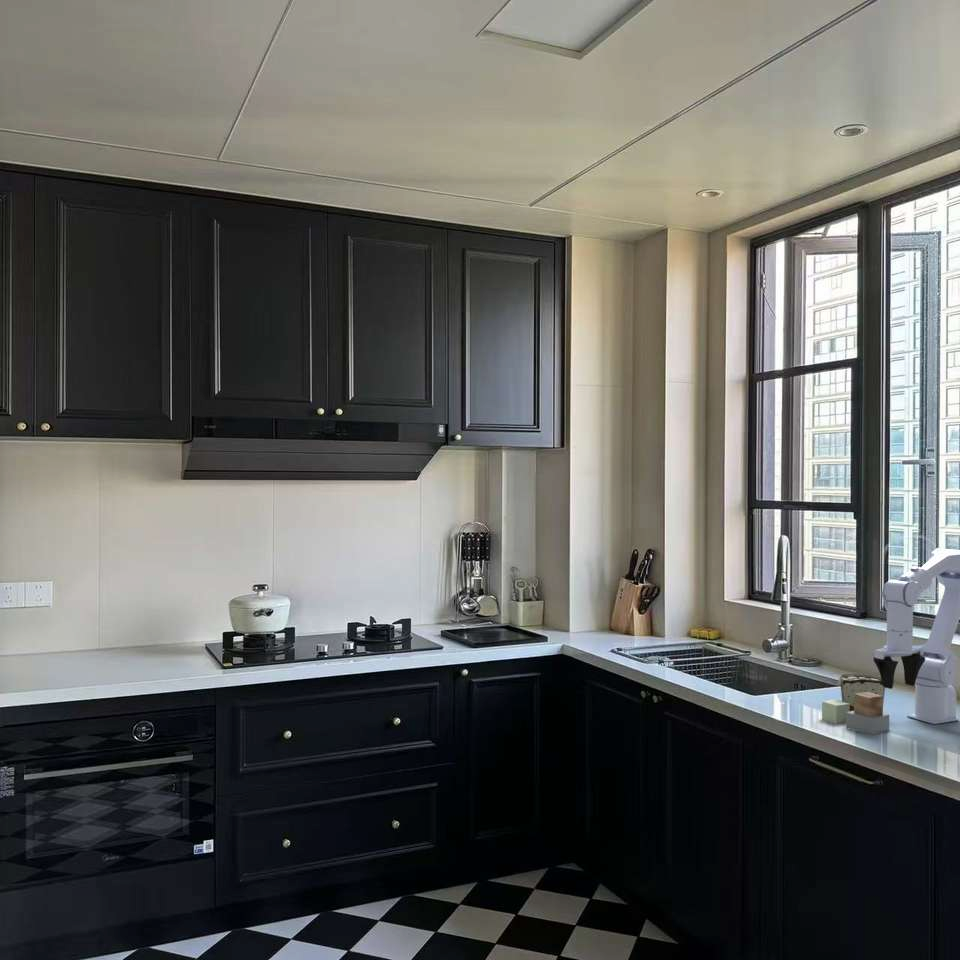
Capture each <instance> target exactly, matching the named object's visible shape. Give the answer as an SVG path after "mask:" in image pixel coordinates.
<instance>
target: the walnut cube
mask: <svg viewBox="0 0 960 960" xmlns="http://www.w3.org/2000/svg"><path fill="white" fill-rule="evenodd" d="M854 712H855V713H858V714H861V715H865V716H868V717H871V716H878V715H883V713H884V702H883V696H881V695H877V694H874V693H870V692H863V693H855V694H854Z"/></svg>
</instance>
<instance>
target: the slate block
mask: <svg viewBox="0 0 960 960" xmlns="http://www.w3.org/2000/svg"><path fill="white" fill-rule="evenodd" d="M845 728H846V729H848V728H850V730H852V729H854V731H857V730H858V732H861V731H862V732H861V733H866V734H869V735H872V736H873V735H874V736H875V735H877V734H880V733H883V732H887V731H889V730H890V714H888V713H885V712H883V715H878V716H871V717H868V716H865V715H861V714H858V713H855V712H854V711H850V712H847V713H846V722H845Z"/></svg>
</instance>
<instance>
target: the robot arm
mask: <svg viewBox="0 0 960 960" xmlns="http://www.w3.org/2000/svg"><path fill="white" fill-rule="evenodd" d="M934 578H936V579H937V581H938V583H939V584H941V585H942V586H944V592H943V595H942V598H941V601H940V604H939V607H938V609H937V613H936V616H935V618H934V621H933V625H932V627H931V630H930V633H929V637H928V640H927V642H925V643H923V644H921V645H913V642H914V641H913V638H914V637H913V636H914V635H913V634H914V632H913V631H914V630H913V628H914V627H913V626H914V605H916V604H917V603H918V601H919V597H920V596H921V594H922V593H923V592H924V591H925V590H927V589H928V588H930V586H931V585H932V581H933V579H934ZM881 598H882V600H883V602H884V609H885V610H886V645H883V647H882V648H879V649H875V650H874V656H873V662H874V664H875V665H876V667H877V670H878V673H879V676H881V679H882V683H883V687H885V689H890V690H891V689H893V687H894V680H895V673H896V672H895V671H896V668H897V666H898V663H899V661H898V660H893V658H899V657H900V659H901V662H902V666H903V675H904V683H905V685H907V686H910V687H911V686H912V687H914V686H915V689H914V690H915V692H914V693H915V695H914V700H915V701H914V713H910V714H907V715H906V716H907V717H908V718H911V719H915V720H918V721H922V722H926V723H928V724H933V725H935V724H943V723H944V724H945V723H949V722H950V723H951V722H955V721H960V718H959V717H957V692H956V689H955V688H954V687H953V685H952V683H953V682H954V681H955V679H956V676H957V666H958V665H957V664H958V658H957V657H956V656H955V655H954V653H953V652H952V651H951V650H950V649H951V646H952V642H953V639H954V636H955V633H956V630H957V628H958V624H959V621H960V549H949V548H948V549H947V548H941V547H937V548H935V549H934V550H933V551H931V554H930V559H929V560H928V561H927V562H925V563H924V564H923V565H922V566H921V567H920V566H919V567H918V566H912V567H910V568H909V570H908V571H907V572H906V573H904V574H902V575H900V577H898V578H897V579H890V580H888V581H887V582H885V583H884V585H883V588H882V591H881Z"/></svg>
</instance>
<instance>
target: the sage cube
mask: <svg viewBox="0 0 960 960" xmlns="http://www.w3.org/2000/svg"><path fill="white" fill-rule="evenodd" d="M821 708H822V709H821V719H822V720H823V719H824V721H827V722H830V721H831V722H830V723H833V722H834V723H833V724H841V723H840V722H843V723H846V713H847V712H850V704H849V703H845V702H842V700H839V699H830V700H823V701H821Z"/></svg>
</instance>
